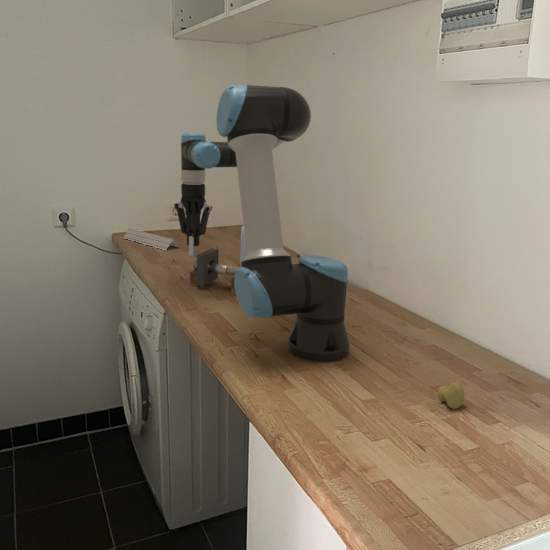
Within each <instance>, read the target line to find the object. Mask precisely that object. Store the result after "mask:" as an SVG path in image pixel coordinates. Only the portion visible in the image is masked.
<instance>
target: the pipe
mask: <svg viewBox="0 0 550 550" xmlns="http://www.w3.org/2000/svg"><path fill="white" fill-rule="evenodd" d="M192 264H193V265H192V266H193V267H192V268H193V270H197V260H195V261H193V263H192ZM239 268H241V267H240V266H237V265H236V266H234V265H230V264H223V263H222V264H221V263H218V264H216V263H209V262H208V272H214V273H218V274H221V275H227V276H233V277H234V276H235V272H236V271H237V270H238V269H239Z"/></svg>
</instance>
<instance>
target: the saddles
mask: <svg viewBox="0 0 550 550" xmlns="http://www.w3.org/2000/svg"><path fill="white" fill-rule="evenodd" d="M234 280H235V278H234V276H233V277H231V281H230V282H231V283H230V284H231V285H230V286H231V288H230V294H231V295H236V292H235V287H234ZM190 286H192V287H191V288H195V287H197V289H199V288H201V287H200V285H197V270H195V269H193V270H190V271H189V287H190ZM198 287H199V288H198Z"/></svg>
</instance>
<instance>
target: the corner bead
mask: <svg viewBox="0 0 550 550" xmlns="http://www.w3.org/2000/svg"><path fill="white" fill-rule="evenodd" d="M141 237H142V238H141ZM123 238H124V239H128V240H131V242H132V241H136V242H139V243H142V244H144V246H145V245H149V246H153V248H154V247H155V249H156V248H159V249H162V250H161V251H163V250H165V251H164V252H167V250H168V248H169V247H173V246H174V248H177V247H178V248H177V249H181V248H180V246H179V245H178V244H177V243H176V241H175V240H174V239H173V238H170V237H166V236H162V235H158V234H154V233H151V232H150V233H149V232H146V231H142V230H138V229H133V228H130V227H129V228H128V230H127V231H126V233H125V235H124V236H123V237H122V239H123ZM170 245H171V246H170ZM159 249H158V250H159Z"/></svg>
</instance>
